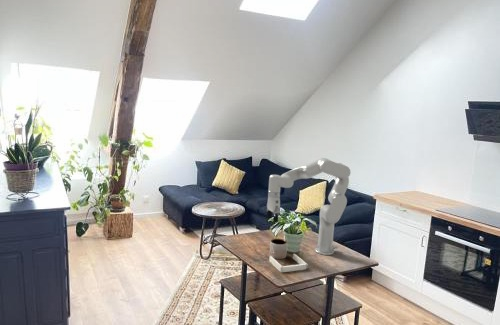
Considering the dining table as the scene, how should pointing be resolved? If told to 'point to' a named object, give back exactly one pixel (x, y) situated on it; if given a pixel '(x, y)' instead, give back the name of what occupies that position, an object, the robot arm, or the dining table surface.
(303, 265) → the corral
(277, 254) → the planter
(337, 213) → the robot arm
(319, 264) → the dining table surface
